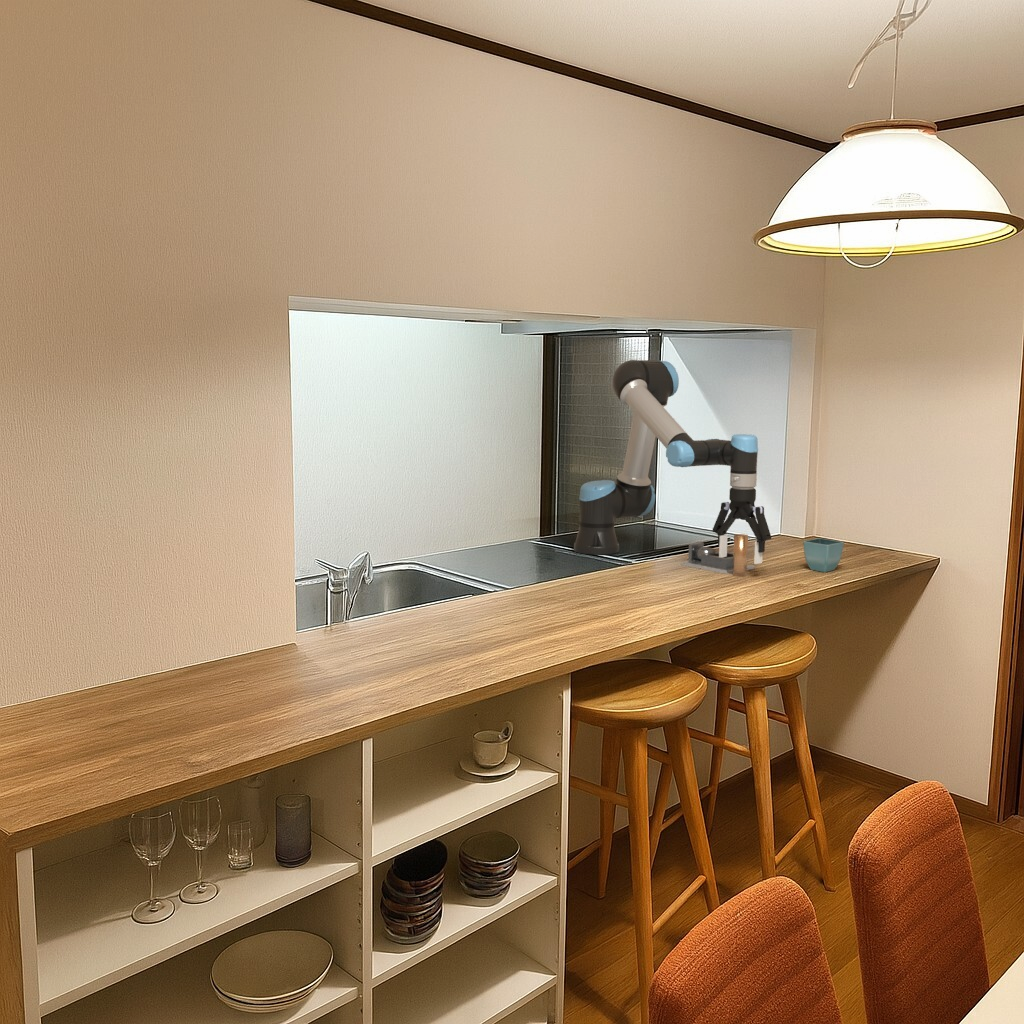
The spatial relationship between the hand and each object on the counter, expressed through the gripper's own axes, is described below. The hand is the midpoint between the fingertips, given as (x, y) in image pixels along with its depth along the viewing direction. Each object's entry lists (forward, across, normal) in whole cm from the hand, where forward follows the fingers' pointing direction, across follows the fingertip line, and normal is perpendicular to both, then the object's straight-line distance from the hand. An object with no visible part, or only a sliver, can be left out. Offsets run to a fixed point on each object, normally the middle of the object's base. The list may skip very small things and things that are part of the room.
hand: (740, 560), depth 288 cm
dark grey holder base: (+5, -13, +5) cm, 14 cm away
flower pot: (+5, +11, +26) cm, 28 cm away
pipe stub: (+5, 0, 0) cm, 5 cm away
